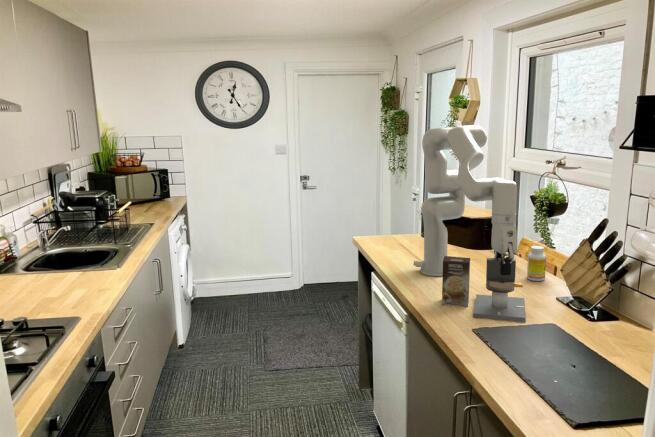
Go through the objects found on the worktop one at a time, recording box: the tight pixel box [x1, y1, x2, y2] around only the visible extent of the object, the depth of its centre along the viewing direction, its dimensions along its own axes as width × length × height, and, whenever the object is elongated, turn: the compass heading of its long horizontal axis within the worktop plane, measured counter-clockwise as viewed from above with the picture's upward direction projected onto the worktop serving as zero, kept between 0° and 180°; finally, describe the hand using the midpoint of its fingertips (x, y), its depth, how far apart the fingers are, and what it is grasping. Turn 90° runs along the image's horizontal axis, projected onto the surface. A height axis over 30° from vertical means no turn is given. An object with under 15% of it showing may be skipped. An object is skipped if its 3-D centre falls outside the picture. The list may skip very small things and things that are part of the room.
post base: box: [472, 291, 527, 323], centre depth 173 cm, size 16×18×7 cm
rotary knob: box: [485, 257, 524, 294], centre depth 171 cm, size 12×9×10 cm
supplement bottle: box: [526, 245, 547, 282], centre depth 202 cm, size 7×7×13 cm
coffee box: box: [441, 255, 471, 308], centre depth 180 cm, size 9×6×16 cm
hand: (502, 272), depth 171 cm, fingers closed on rotary knob, 3 cm apart
